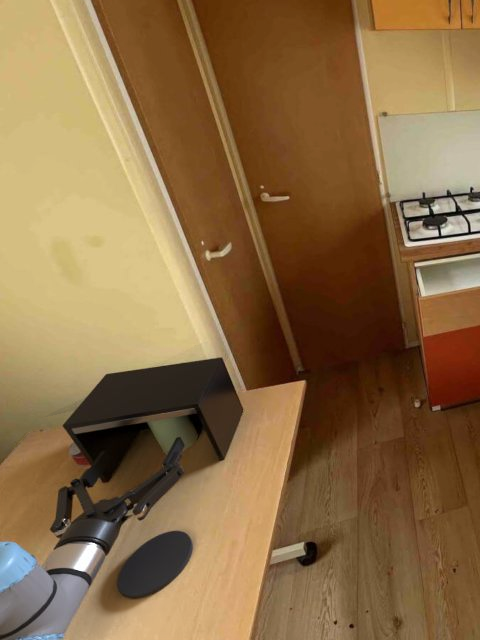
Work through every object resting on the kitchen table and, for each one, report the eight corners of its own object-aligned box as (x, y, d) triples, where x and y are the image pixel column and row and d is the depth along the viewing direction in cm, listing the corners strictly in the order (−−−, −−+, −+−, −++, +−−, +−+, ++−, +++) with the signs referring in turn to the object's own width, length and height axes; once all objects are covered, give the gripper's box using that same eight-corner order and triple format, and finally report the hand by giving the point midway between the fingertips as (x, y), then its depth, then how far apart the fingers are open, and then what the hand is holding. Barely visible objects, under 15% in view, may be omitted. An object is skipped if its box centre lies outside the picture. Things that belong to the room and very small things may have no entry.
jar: (158, 444, 101) (137, 409, 96) (191, 425, 106) (173, 390, 101) (169, 459, 98) (148, 423, 92) (202, 439, 103) (185, 403, 97)
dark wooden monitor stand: (224, 459, 98) (197, 403, 89) (102, 483, 92) (62, 425, 84) (244, 410, 111) (222, 357, 102) (138, 428, 105) (106, 373, 97)
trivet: (102, 598, 74) (99, 596, 73) (150, 533, 83) (148, 530, 83) (164, 599, 73) (162, 596, 73) (206, 533, 83) (204, 530, 83)
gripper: (1, 586, 70) (82, 472, 88) (172, 547, 75) (215, 447, 94) (-25, 561, 66) (65, 448, 85) (156, 522, 72) (204, 424, 90)
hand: (144, 447), depth 89 cm, fingers open, 13 cm apart
